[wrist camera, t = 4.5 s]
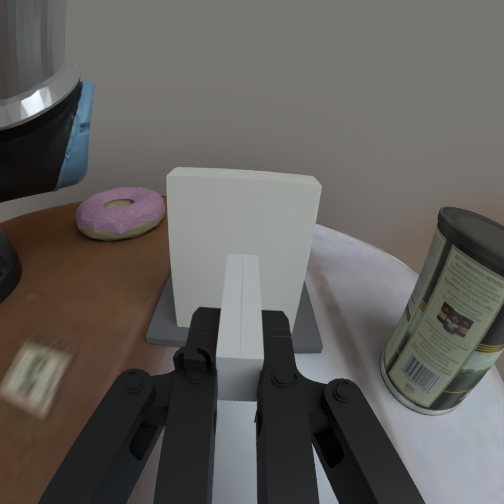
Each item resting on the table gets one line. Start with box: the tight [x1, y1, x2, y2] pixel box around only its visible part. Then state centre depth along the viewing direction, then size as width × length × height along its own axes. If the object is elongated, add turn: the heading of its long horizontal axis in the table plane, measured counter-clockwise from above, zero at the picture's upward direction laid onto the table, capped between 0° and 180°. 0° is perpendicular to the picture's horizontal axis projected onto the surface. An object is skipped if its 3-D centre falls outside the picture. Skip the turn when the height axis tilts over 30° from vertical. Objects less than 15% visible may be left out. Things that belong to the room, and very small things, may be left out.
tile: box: [167, 167, 322, 333], centre depth 21 cm, size 10×3×13 cm, turn 91°
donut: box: [76, 187, 165, 241], centre depth 41 cm, size 16×15×5 cm
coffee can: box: [381, 207, 504, 415], centre depth 17 cm, size 10×10×14 cm
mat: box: [146, 272, 323, 353], centre depth 30 cm, size 15×19×1 cm
